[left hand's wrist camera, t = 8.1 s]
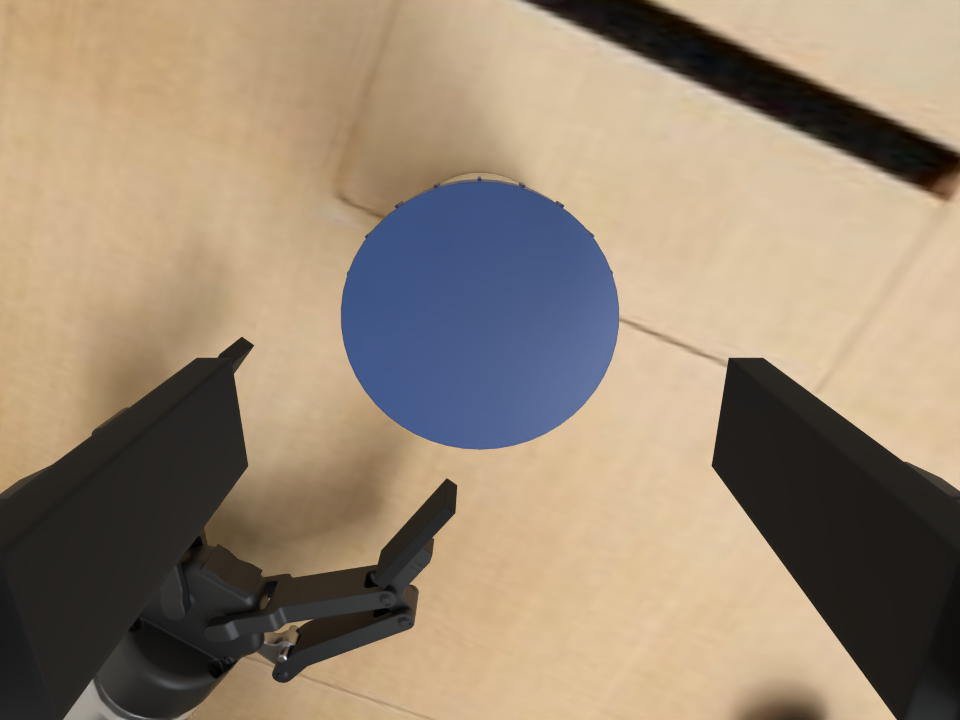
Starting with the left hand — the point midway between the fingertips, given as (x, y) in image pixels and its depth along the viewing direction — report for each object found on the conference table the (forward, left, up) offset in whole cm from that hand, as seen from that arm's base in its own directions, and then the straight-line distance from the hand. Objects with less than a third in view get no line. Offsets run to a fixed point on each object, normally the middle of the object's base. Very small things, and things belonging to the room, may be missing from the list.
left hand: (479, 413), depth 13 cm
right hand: (+10, +3, -16) cm, 19 cm away
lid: (0, 0, -7) cm, 7 cm away
